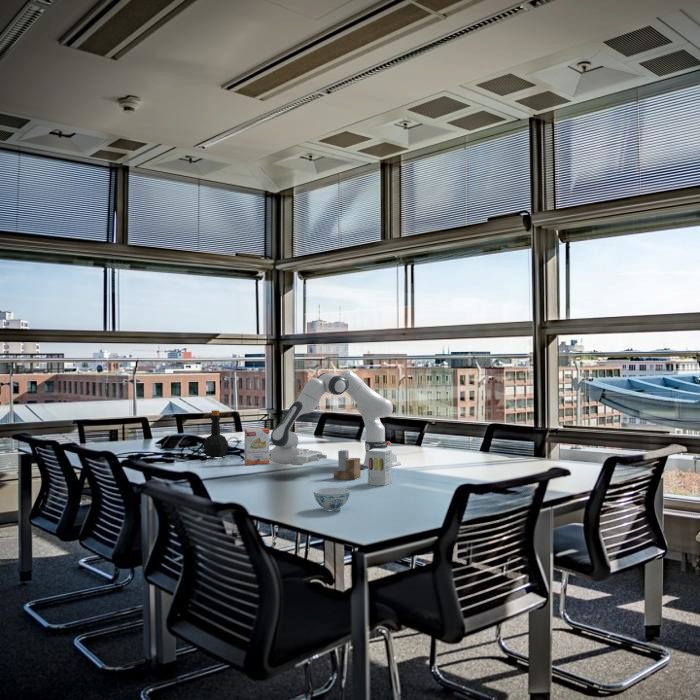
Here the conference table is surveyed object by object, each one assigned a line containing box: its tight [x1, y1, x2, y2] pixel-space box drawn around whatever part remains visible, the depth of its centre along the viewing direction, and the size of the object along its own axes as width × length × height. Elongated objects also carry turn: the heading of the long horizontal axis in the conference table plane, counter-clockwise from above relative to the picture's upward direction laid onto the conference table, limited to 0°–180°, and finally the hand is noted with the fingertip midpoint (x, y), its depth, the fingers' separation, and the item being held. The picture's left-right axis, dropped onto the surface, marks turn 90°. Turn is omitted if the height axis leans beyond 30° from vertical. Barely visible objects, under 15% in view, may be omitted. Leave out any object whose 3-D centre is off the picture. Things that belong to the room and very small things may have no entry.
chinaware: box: [312, 486, 351, 511], centre depth 291 cm, size 15×15×8 cm
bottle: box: [203, 409, 229, 457], centre depth 453 cm, size 16×16×30 cm
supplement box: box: [367, 448, 393, 487], centre depth 350 cm, size 10×9×17 cm
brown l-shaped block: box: [333, 457, 361, 481], centre depth 368 cm, size 12×8×10 cm
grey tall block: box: [337, 449, 350, 472], centre depth 369 cm, size 4×4×14 cm
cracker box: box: [244, 428, 270, 466], centre depth 422 cm, size 14×6×21 cm, turn 112°
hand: (322, 457), depth 374 cm, fingers open, 8 cm apart
